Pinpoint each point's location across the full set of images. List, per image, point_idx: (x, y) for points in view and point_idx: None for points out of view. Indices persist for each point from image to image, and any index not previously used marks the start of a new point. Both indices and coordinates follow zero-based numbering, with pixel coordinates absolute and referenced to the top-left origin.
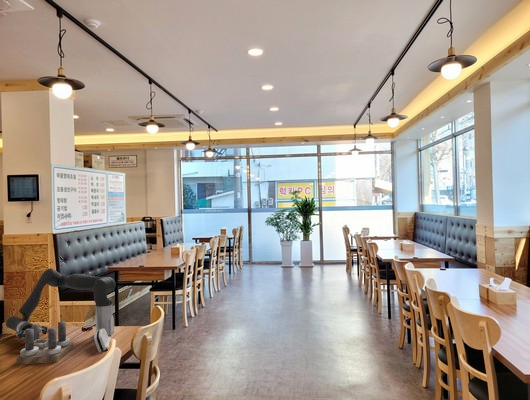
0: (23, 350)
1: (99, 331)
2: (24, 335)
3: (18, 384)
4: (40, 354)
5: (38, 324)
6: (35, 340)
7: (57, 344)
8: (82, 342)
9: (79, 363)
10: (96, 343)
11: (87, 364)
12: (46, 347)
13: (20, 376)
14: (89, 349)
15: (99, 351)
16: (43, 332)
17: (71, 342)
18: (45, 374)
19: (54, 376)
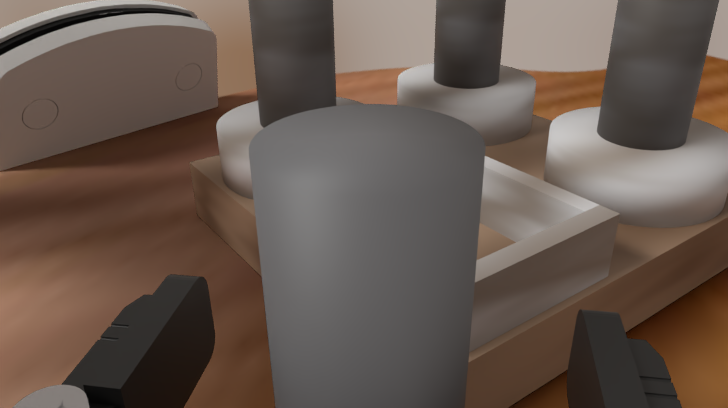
0: (705, 142)
1: (119, 4)
2: (675, 404)
3: (723, 93)
4: (547, 143)
5: (308, 119)
6: (487, 271)
7: None
8: (28, 249)
9: (394, 86)
10: (214, 53)
11: (380, 71)
12: (495, 97)
13: None
14: (195, 144)
15: (216, 102)
16: (178, 376)
17: (204, 165)
18: (581, 93)
19: (552, 73)
